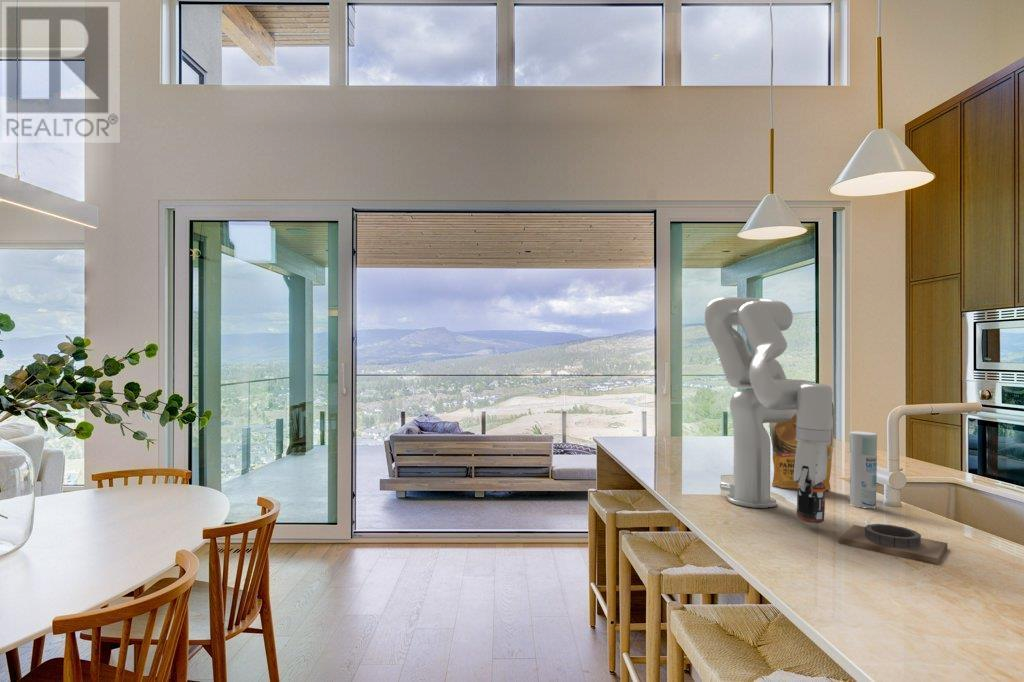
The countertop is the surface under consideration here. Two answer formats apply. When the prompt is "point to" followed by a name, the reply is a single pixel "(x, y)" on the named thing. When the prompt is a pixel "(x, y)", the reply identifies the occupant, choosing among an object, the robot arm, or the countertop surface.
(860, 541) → the bottle holder
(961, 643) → the countertop surface
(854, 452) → the spray can
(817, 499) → the supplement bottle
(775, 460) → the pancake mix bag
